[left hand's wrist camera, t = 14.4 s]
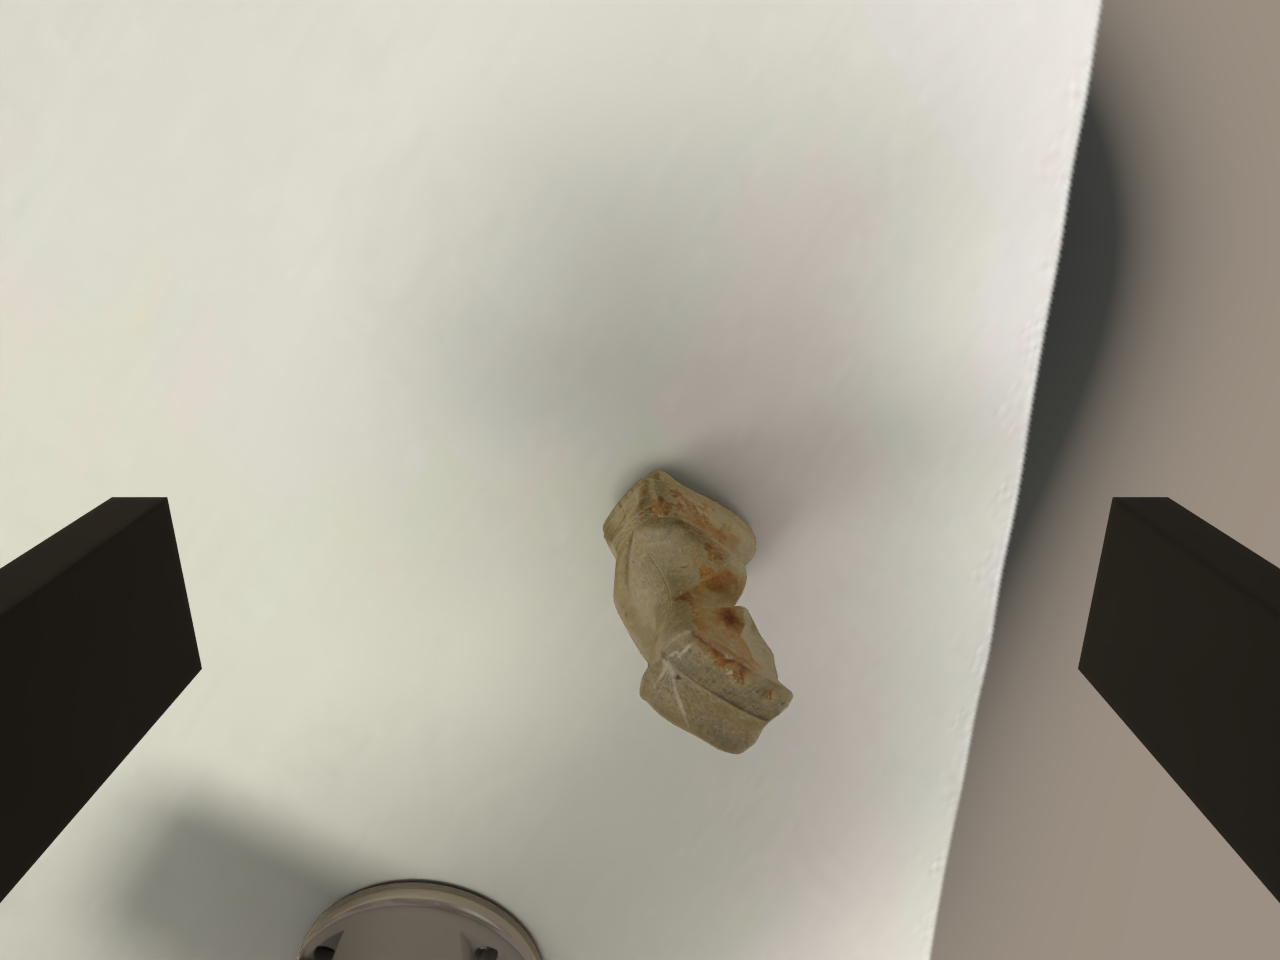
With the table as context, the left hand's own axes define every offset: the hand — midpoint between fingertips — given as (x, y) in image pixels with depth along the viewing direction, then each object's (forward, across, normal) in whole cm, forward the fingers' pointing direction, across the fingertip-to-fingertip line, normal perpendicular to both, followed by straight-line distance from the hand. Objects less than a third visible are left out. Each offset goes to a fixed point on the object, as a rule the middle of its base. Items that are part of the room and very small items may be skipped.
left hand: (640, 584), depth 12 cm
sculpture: (+29, -2, +11) cm, 32 cm away
